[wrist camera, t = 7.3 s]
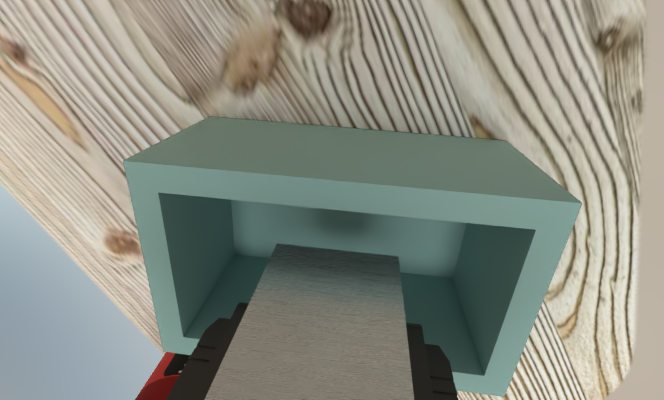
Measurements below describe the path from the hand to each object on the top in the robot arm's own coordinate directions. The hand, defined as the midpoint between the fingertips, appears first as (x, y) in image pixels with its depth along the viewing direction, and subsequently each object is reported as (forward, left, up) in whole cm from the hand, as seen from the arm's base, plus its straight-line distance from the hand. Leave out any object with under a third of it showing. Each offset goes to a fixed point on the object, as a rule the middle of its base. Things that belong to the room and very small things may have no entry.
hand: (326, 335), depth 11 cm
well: (0, 0, -9) cm, 9 cm away
